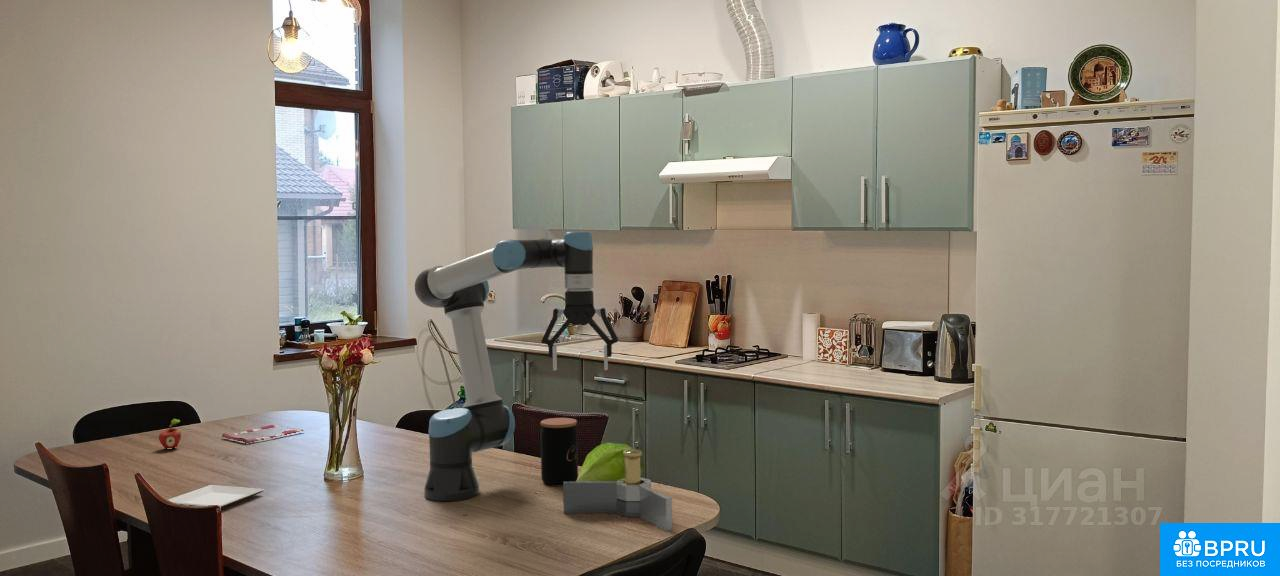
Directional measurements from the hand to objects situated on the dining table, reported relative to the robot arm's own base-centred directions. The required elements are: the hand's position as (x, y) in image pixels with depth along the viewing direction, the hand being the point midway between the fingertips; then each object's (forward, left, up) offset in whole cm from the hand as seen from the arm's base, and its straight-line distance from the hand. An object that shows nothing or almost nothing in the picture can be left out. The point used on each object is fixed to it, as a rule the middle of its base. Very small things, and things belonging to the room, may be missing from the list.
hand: (580, 369), depth 263 cm
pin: (+14, -6, -37) cm, 40 cm away
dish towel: (-125, +92, -38) cm, 160 cm away
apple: (-149, +72, -37) cm, 170 cm away
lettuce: (+6, +12, -37) cm, 39 cm away
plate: (-103, +6, -37) cm, 110 cm away
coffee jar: (-9, +25, -37) cm, 45 cm away
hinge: (+10, -12, -37) cm, 40 cm away
